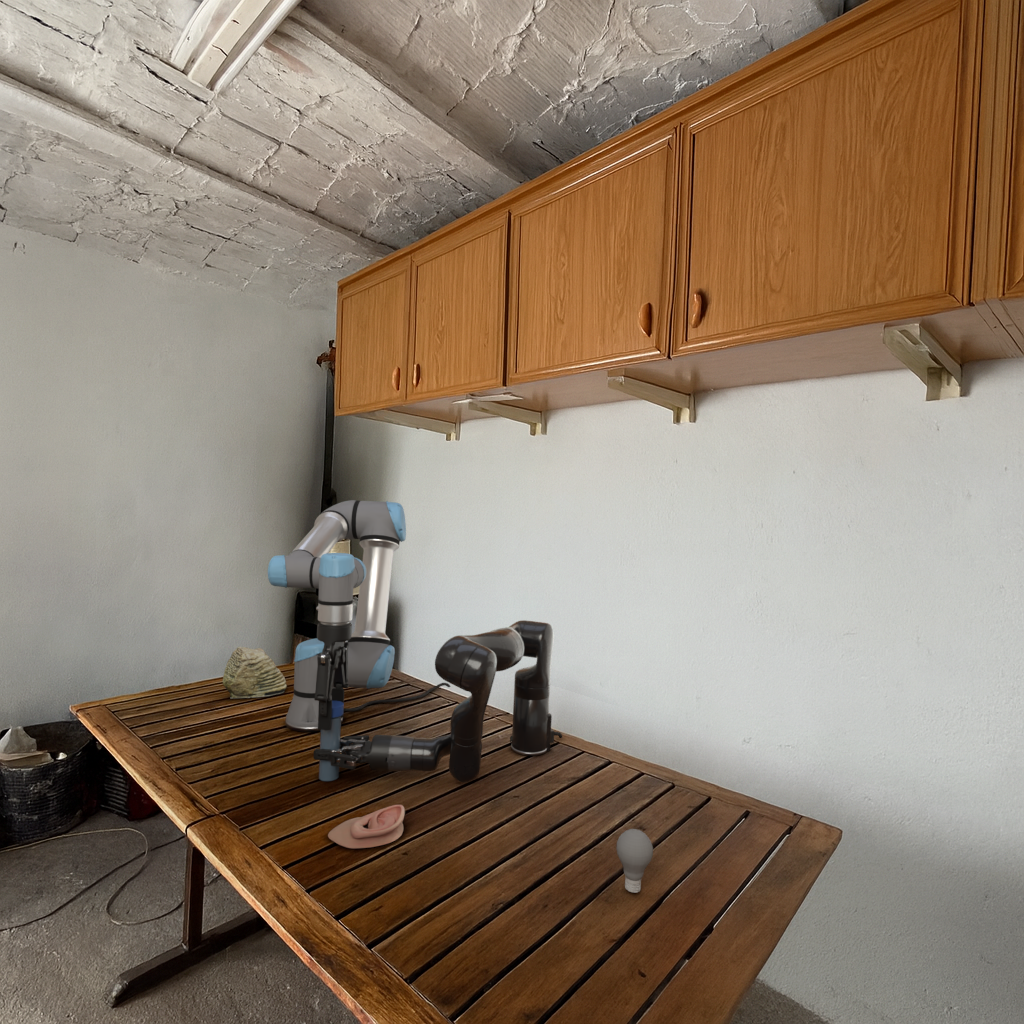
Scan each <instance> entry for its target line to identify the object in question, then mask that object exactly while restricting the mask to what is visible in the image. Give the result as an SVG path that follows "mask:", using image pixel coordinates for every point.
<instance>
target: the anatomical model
mask: <svg viewBox="0 0 1024 1024" xmlns="http://www.w3.org/2000/svg"><path fill="white" fill-rule="evenodd" d="M405 814H406V809H405V806H404V805H403V804H393V805H389V806H386V807H383V808H381V809H377V810H375V811H373V812H371V813H368V814H366V815H363V816H360V817H358V816H357V817H354V818H350V819H347V820H345V821H343V822H341V823H340V824H338V825H336V826H334V827H333V828H332V829H331V830H330V831H329V832H328V834H327V838H328V839H329V840H331V842H333V843H336V845H339V846H341V847H344V848H347V849H366V848H367V849H368V848H374V847H379V846H384V845H388V844H390V843H392V842H394V841H397V840H399V838H401V836H402V835H403V832H404V829H405V828H404V823H403V822H404V820H405Z"/></svg>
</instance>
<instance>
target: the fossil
mask: <svg viewBox="0 0 1024 1024" xmlns="http://www.w3.org/2000/svg"><path fill="white" fill-rule="evenodd" d="M222 676H223V677H222V685H223V687H224V688H225V690H226V691H228V693H229V698H230V699H250V698H264V697H271V696H275V695H281V694H284V693H285V691H286V689H287V687H288V686H287V680H286V678H285V676H284V674H283V673H282V672H281V669H279V668H278V667H277V665H276V663H275V662H274V660H273V659H272V658H271V657H270V656H269V655H268V654H267V653H266V652H265V650H264V649H263V648H260V647H258V648H251V647H247V646H246V647H245V646H238V647H237V648H236V649H235V650H233V651H232V653H231V656H230V657H229V659H228V660H227V663H226V666H225V668H224V671H223V675H222Z"/></svg>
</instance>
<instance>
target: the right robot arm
mask: <svg viewBox="0 0 1024 1024" xmlns="http://www.w3.org/2000/svg"><path fill="white" fill-rule="evenodd" d="M554 640H555V631H554V627H553V625H552V624H551V623H549V622H545V621H544V622H543V621H536V620H535V621H534V620H527V619H526V620H525V619H524V620H518V621H515V622H514V623H512V624H511V625H509V626H505V627H500V628H496V629H493V630H490V631H487V632H482V633H478V634H465V635H463V634H459V635H455V636H452V637H450V638H449V639H448V640H446V641H445V642H444V643H443V644H442V645H441V646H440V648H439V650H438V651H437V654H436V656H435V660H434V668H435V669H434V670H435V672H436V674H437V676H439V678H441V679H442V680H443V681H444V682H446V683H448V684H451V685H453V686H455V687H457V688H459V689H461V690H463V691H465V692H469V693H470V694H471V695H470V696H469V697H467V698H465V699H464V700H462V701H461V702H459V703H458V704H457V705H456V707H454V709H453V711H452V712H451V716H450V725H449V726H450V729H449V733H450V734H446V735H442V736H437V737H431V738H428V737H413V736H407V735H393V734H392V735H391V734H390V735H389V734H375V735H373V737H372V738H371V740H370V735H368V734H367V735H348V736H343V738H340V749H333V750H331V749H320V748H315V749H314V750H313V760H315V761H319V760H330V762H331V766H336V767H339V768H342V769H347V770H355V769H356V767H357V765H358V764H360V765H361V764H368V765H369V766H368V767H369V769H370V770H371V771H380V772H381V771H382V772H434V771H436V770H437V768H438V767H439V765H440V762H441V761H442V759H443V757H446V756H448V755H449V758H448V759H449V761H448V771H449V773H450V775H451V777H452V778H453V779H454V780H456V781H458V782H461V783H469V782H472V781H473V780H475V779H476V778H477V777H478V776H479V774H480V772H481V766H482V765H481V763H482V753H483V752H482V750H483V741H482V739H483V736H484V735H483V734H484V719H485V714H486V709H487V707H488V703H489V699H490V696H491V693H492V688H493V685H494V681H495V678H496V672H497V673H498V672H503V671H506V670H509V669H510V668H513V667H515V666H516V665H518V664H519V663H520V662H521V660H522V659H523V657H527V658H532V659H536V663H534V665H531V666H527V667H523V668H519V669H518V670H516V671H515V673H514V682H513V683H514V685H513V707H512V709H513V710H512V731H511V735H510V737H509V743H511V745H510V749H511V751H513V752H514V753H516V754H518V755H522V756H528V757H532V756H533V757H535V756H536V757H537V756H542V755H544V754H546V753H547V752H551V744H554V743H555V736H558V738H559V739H562V738H563V733H562V732H560V731H555V730H554V729H552V719H553V718H552V716H553V715H552V713H551V712H550V693H551V692H550V690H551V676H552V675H551V674H552V662H553V652H554V642H555V641H554ZM339 753H340V754H339Z"/></svg>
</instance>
